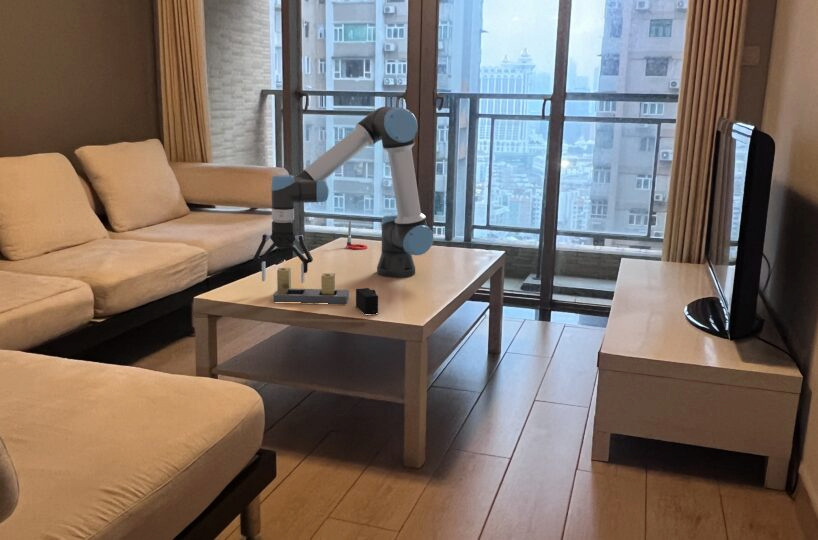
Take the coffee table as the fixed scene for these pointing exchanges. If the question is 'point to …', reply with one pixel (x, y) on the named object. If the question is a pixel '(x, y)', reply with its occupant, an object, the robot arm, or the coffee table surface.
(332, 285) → the beige upright block
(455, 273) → the coffee table surface
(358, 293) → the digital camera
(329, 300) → the rail
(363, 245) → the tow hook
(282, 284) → the tan tall block
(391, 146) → the robot arm
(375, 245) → the coffee table surface
